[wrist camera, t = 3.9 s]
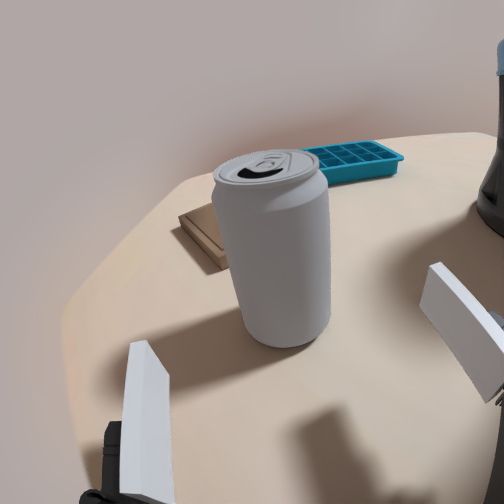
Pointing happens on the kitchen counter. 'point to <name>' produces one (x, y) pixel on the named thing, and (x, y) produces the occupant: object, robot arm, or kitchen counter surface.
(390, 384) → the kitchen counter surface
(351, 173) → the ice cube tray
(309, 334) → the beverage can
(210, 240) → the walnut block
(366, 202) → the kitchen counter surface
